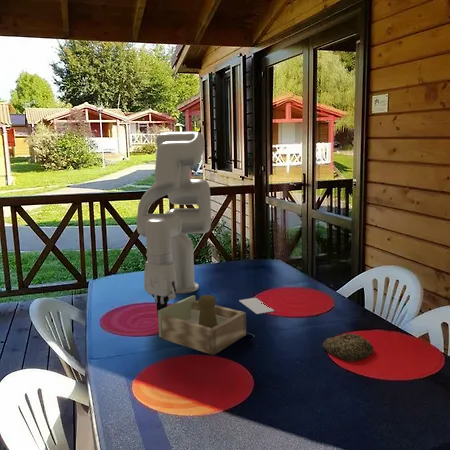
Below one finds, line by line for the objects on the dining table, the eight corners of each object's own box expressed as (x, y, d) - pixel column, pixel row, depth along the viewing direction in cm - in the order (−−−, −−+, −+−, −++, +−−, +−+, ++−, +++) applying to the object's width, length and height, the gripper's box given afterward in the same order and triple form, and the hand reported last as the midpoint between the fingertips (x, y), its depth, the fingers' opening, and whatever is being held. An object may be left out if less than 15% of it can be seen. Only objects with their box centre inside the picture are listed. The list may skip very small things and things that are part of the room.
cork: (221, 328, 142) (220, 293, 140) (214, 337, 136) (213, 300, 134) (202, 326, 144) (200, 292, 142) (194, 334, 138) (193, 298, 136)
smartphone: (257, 314, 157) (238, 300, 171) (257, 315, 157) (238, 301, 171) (275, 310, 160) (255, 297, 173) (275, 312, 160) (255, 298, 173)
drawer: (159, 336, 141) (157, 310, 139) (193, 319, 153) (193, 295, 152) (208, 352, 130) (207, 324, 128) (241, 332, 143) (240, 306, 141)
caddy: (162, 338, 140) (161, 316, 139) (197, 321, 153) (196, 300, 151) (213, 355, 129) (212, 331, 128) (246, 334, 142) (245, 312, 140)
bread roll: (346, 366, 122) (347, 348, 121) (316, 347, 133) (316, 330, 132) (383, 354, 128) (384, 337, 127) (351, 337, 139) (352, 321, 138)
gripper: (133, 257, 148) (137, 313, 151) (169, 264, 139) (172, 323, 143) (150, 252, 154) (153, 306, 157) (186, 258, 145) (188, 315, 149)
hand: (162, 314), depth 150 cm, fingers closed
